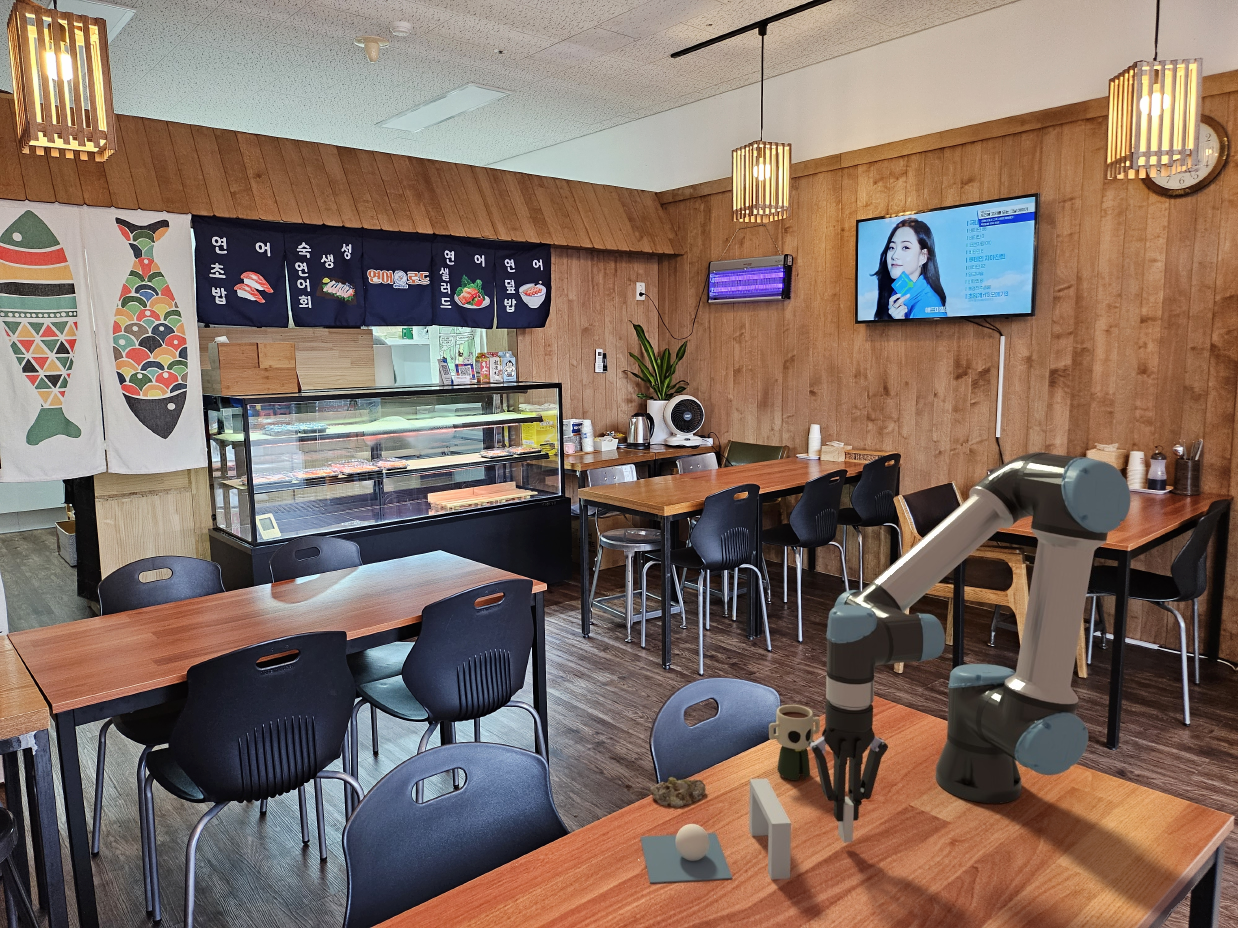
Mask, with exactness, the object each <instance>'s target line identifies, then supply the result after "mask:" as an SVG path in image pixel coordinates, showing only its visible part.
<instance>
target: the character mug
mask: <svg viewBox="0 0 1238 928" xmlns="http://www.w3.org/2000/svg"><path fill="white" fill-rule="evenodd" d="M820 723H821V720H820V717H818V716H817V717H814V712H813V711H812V709H810V708H809V707H806V706H803V705H797V704H786V705H781V706H779V707H778V708H777V709H776V719H775V722H771V723H769V725H768V737H769V740H773V741H774V740H776V742H777V743H778V744H779V745H781V747H780V749H779V750H780V751H779V754H778V761H777V767H776V770H777V772H778V773H779V775H780V776H781V777H783V778H785V779H788V780H790V781H791V780H792V781H800V776H801V775H802V778H803V780H806V779H807V778H809V777H810V776H811V775H810V774H811V768H810V757H809V751H808V748H810V747H809V745H808V743H809V741H811V740H813V741H814V735H815V734H818V733H820V725H821V724H820Z"/></svg>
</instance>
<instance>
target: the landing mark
mask: <svg viewBox="0 0 1238 928" xmlns="http://www.w3.org/2000/svg"><path fill="white" fill-rule="evenodd" d="M706 833H707V834H708V837H709V849H708V851H707V853H706V855H705V856H704V857H703V858H701V859H699V860H696V861H690V860H687V859H685V858H683V857H682V856H681V855H680V854H679V852H678V850H677V848H676V836H677V834H666V835H645V836H644V835H643V836H639V837H640V841H641V846H642V851H643V856H644V862H645V866H647V867H646V871H648V872H647V874H648V875H647V876H648V880H650V881H649V883H650V884H661V883H664V882H666V883H681V882H697V881H698V882H700V881H715V880H718V881H719V880H732V879H733V876H732V873H731V869H730V866H729V865H728V862H727V859H726V856H725V855H724V854H725V853H724V852H723V849H722V846H721V844H720V841H719V839H718V835H717V832H706ZM664 884H665V883H664Z"/></svg>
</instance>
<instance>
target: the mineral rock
mask: <svg viewBox="0 0 1238 928" xmlns="http://www.w3.org/2000/svg"><path fill="white" fill-rule="evenodd" d="M667 779H668V780H667V782H664V781H660V782H659V783H657V784H655V785H654V786H651V787H650V792H651V797H652V799H654V800H655V801H657V802H658V804H659V805H660V806H666V807H674V808H680V807H683V806H689V805H691V804H693V803H696V802H698V801H700V800H702V799H703V796H704V795H706V788H707V787H706V784H705V783H704V781H702V780H701V779H695V778H694V779H689V778H688V779H686V778H684V779H678V780H677V779H676V778H675V777H673V776H671V777H669V778H667Z"/></svg>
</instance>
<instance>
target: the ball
mask: <svg viewBox="0 0 1238 928" xmlns="http://www.w3.org/2000/svg"><path fill="white" fill-rule="evenodd" d="M707 833H708V832H707V831H706V830H705V829H704V828H703V826H700V825H698V824H695V823H688V824H686V825H684V826H681V828H680V829H678V832H677V834H676V835H677V836H676V848H677V850H678V852H679V854H680V855H681V856H682V857H683V858H685V859H687V860H690V861H696V860H699V859H701V858H703V857H704V856H705V855H706V853H707V851H708V849H709V837H708V834H707Z"/></svg>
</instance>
